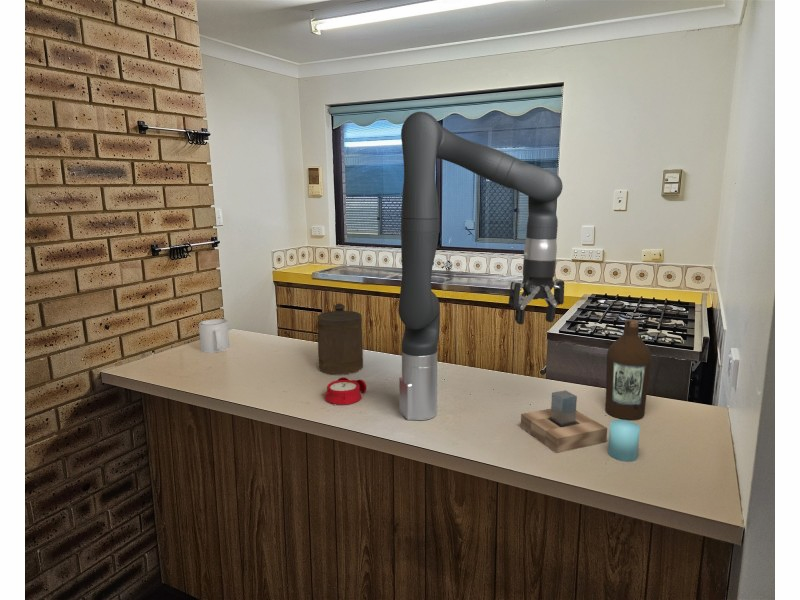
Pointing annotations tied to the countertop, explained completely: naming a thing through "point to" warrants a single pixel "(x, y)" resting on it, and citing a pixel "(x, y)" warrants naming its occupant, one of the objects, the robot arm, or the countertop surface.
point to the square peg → (563, 408)
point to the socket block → (563, 431)
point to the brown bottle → (627, 374)
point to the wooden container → (340, 341)
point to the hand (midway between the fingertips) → (534, 322)
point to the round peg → (623, 440)
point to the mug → (213, 335)
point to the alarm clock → (345, 391)
